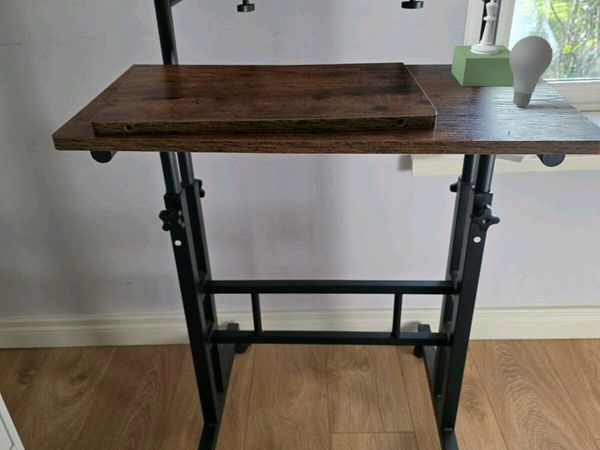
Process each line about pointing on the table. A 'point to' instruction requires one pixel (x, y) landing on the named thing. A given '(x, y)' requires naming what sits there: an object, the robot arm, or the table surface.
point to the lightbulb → (528, 66)
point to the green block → (482, 67)
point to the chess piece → (487, 33)
